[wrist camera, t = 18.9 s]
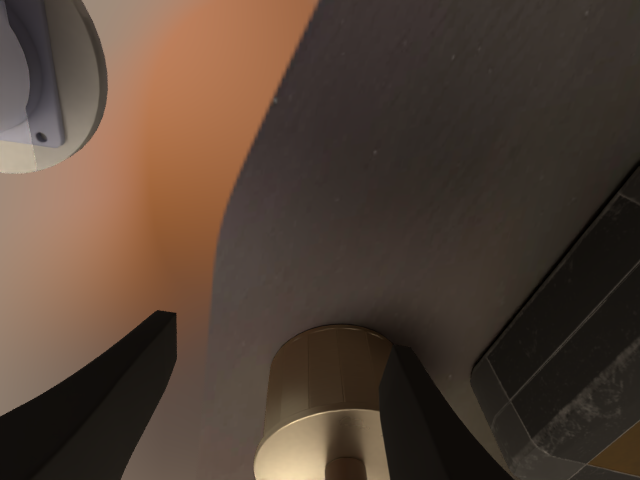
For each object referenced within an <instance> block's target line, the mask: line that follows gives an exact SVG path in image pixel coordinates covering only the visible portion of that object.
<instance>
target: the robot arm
mask: <svg viewBox="0 0 640 480" xmlns="http://www.w3.org/2000/svg"><path fill="white" fill-rule="evenodd" d="M40 133H43V134H44V135H46V138H47V140H44V139H43V138H42V137H41V135H40ZM0 140H2V141H9V142H16V143H23V144H30V145H37V146H44V147H51V148H58V147H60V146H62V145H63V144H64V143H65V135H64V129H63V122H62V116H61V109H60V103H59V96H58V89H57V83H56V76H55V70H54V63H53V57H52V50H51V44H50V37H49V31H48V24H47V18H46V11H45V5H44V0H0ZM176 334H177V329H176V313H173V312H166V311H159V310H157V311H156V312H154V313H153V314H152V315H150V316H149V317H148V318H147V319H146V320H144V321H143V322H142V323H141V324H140V325H138V326H137V327H136V328H135V329H133V330H132V331H131V332H130V333H129V334H127V335H126V336H125V337H124V338H122V339H121V340H120V341H119V342H117V343H116V344H115V345H113V346H112V347H111V348H109V349H108V350H107V351H106V352H104V353H103V354H101V355H100V356H99V357H97V358H96V359H94V360H93V361H92V362H90V363H89V364H87V365H86V366H85V367H83V368H82V369H80V370H79V371H77V372H76V373H74V374H73V375H71V376H70V377H68V378H67V379H65V380H64V381H62V382H61V383H59V384H58V385H56V386H54V387H53V388H51V389H49V390H48V391H46V392H44V393H43V394H41V395H40V396H38V397H36V398H34V399H32V400H30V401H29V402H27V403H25V404H23V405H21V406H19V407H17V408H15V409H13V410H12V411H10V412H8V413H6V414H4V415H2V416H0V480H121V477H122V475H123V472H124V470H125V468H126V465H127V464H128V461H129V459H130V457H131V455H132V453H133V451H134V449H135V447H136V445H137V443H138V441H139V439H140V437H141V436H142V434H143V432H144V430H145V427H146V426H147V424H148V422H149V420H150V418H151V416H152V414H153V413H154V411H155V409H156V407H157V405H158V403H159V401H160V399H161V397H162V395H163V393H164V391H165V389H166V387H167V384H168V381H169V379H170V376H171V374H172V371H173V368H174V365H175V362H176V359H177V336H176ZM379 411H380V422H381V428H382V434H383V440H384V446H385V452H386V458H387V464H388V470H389V476H390V480H514V479H513V478H512V477H511V476H510V475H509V474H508V473H507V472H506V471H505V470H504V469H503V468H502V467H501V466H500V465H499V464H498V463H497V462H496V461H495V460H494V459H493V458H492V457H491V455H490V454H489V453H488V452H487V451H486V450H485V449H484V448H483V446H482V445H481V444H480V443H479V442H478V441H477V440H476V439H475V437H474V436H473V435H472V434H471V433H470V431H469V430H468V429H467V428H466V426H465V425H464V424H463V423H462V421H461V420H460V419H459V417H458V416H457V415H456V414H455V412H454V411H453V409H452V408H451V407H450V405H449V404H448V403H447V401H446V400H445V398H444V397H443V395H442V394H441V393H440V391H439V390H438V388H437V387H436V385H435V384H434V382H433V381H432V379H431V378H430V376H429V375H428V373H427V372H426V370H425V368H424V367H423V365H422V364H421V362H420V361H419V359H418V358H417V356H416V354H415V353H414V351H413V350H412V348H411V347H406V346H399V345H393V346H392V349H391V352H390V355H389V358H388V361H387V364H386V367H385V370H384V373H383V376H382V379H381V381H380V384H379Z"/></svg>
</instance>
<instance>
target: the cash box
mask: <svg viewBox="0 0 640 480" xmlns="http://www.w3.org/2000/svg"><path fill="white" fill-rule="evenodd" d="M470 383H471V387H472V389H473V391H474V393H475V396H476V398H477V400H478V402H479V404H480V406H481V409H482V411H483V413H484V415H485V417H486V420H487V422H488V424H489V426H490V428H491V430H492V433H493V435H494V437H495V439H496V441H497V444H498V446H499V448H500V450H501V452H502V454H503V457H504V459H505V461H506V463H507V465H508V468H509V469H510V470H511V472H512V473H513V474H514V475H515V476H516V477H518V478H519V479H521V480H640V166H639V167H638V168H637V169H636V170H635V172H634V173H633V174H632V175H631V176H630V178H629V179H628V180H627V181H626V183H625V184H624V185H623V186H622V187H621V189H620V190H619V191H618V192H617V193H616V195H615V196H614V197H613V198H612V200H611V201H610V202H609V203H608V204H607V206H606V207H605V208H604V209H603V211H602V212H601V213H600V214H599V215H598V217H597V218H596V219H595V220H594V222H593V223H592V224H591V225H590V226H589V228H588V229H587V230H586V231H585V233H584V234H583V235H582V236H581V237H580V239H579V240H578V241H577V242H576V244H575V245H574V246H573V247H572V248H571V250H570V251H569V252H568V253H567V255H566V256H565V257H564V258H563V259H562V261H561V262H560V263H559V264H558V266H557V267H556V268H555V269H554V270H553V272H552V273H551V274H550V275H549V277H548V278H547V279H546V280H545V281H544V283H543V284H542V285H541V286H540V288H539V289H538V290H537V291H536V292H535V294H534V295H533V296H532V297H531V299H530V300H529V301H528V302H527V303H526V305H525V306H524V307H523V308H522V310H521V311H520V312H519V313H518V314H517V316H516V317H515V318H514V319H513V321H512V322H511V323H510V324H509V325H508V327H507V328H506V329H505V330H504V332H503V333H502V334H501V335H500V336H499V338H498V339H497V340H496V341H495V343H494V344H493V345H492V346H491V347H490V349H489V350H488V351H487V352H486V354H485V355H484V356H483V357H482V359H481V360H480V361H479V362H478V364H477V365H476V366H475V367H474V368H473V371H472V375H471V379H470Z"/></svg>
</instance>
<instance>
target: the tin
mask: <svg viewBox="0 0 640 480" xmlns="http://www.w3.org/2000/svg"><path fill="white" fill-rule="evenodd" d="M392 346H393V344H392V343H391V342H390V341H389V340H388V339H387V338H385V337H384V336H383V335H381V334H379V333H377V332H375V331H373V330H370V329H367V328H364V327H360V326H354V325H343V324H339V325H327V326H321V327H317V328H313V329H310V330H308V331H305V332H303V333H301V334H299V335H297V336H295V337H294V338H292V339H291V340H289V341H288V342H287V343H286V344H284V345H283V346H282V347H281V349H280V350H279V351H278V352H277V354H276V355H275V357H274V359H273V361H272V364H271V368H270V375H269V382H268V392H267V402H266V412H265V423H264V433H263V437H264V435H265V434H266V433H267V432H268V431H269V430H270V429H271V428H272V427H273V426H275V425H276V424H277V423H279V422H280V421H282V420H283V419H285V418H287V417H289V416H291V415H293V414H295V413H298V412H300V411H303V410H305V409H309V408H312V407H315V406H320V405H325V404H331V403H340V402H364V403H373V404H379V384H380V381H381V379H382V376H383V373H384V370H385V367H386V364H387V361H388V358H389V355H390V352H391V349H392Z"/></svg>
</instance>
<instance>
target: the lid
mask: <svg viewBox="0 0 640 480" xmlns="http://www.w3.org/2000/svg"><path fill="white" fill-rule="evenodd" d="M253 468H254V475H255V478H256V480H390V476H389V470H388V464H387V458H386V452H385V446H384V440H383V434H382V428H381V422H380V411H379V404H373V403H364V402H340V403H331V404H325V405H320V406H315V407H312V408H309V409H305V410H303V411H300V412H298V413H295V414H293V415H291V416H289V417H287V418H285V419H283V420H282V421H280V422H279V423H277V424H276V425H275V426H273V427H272V428H271V429H270V430H269V431H268V432H267V433H266V434H265V435H264V437H263V438H262V439H261V441H260V443H259V444H258V446H257V449H256V452H255V457H254V467H253Z"/></svg>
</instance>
